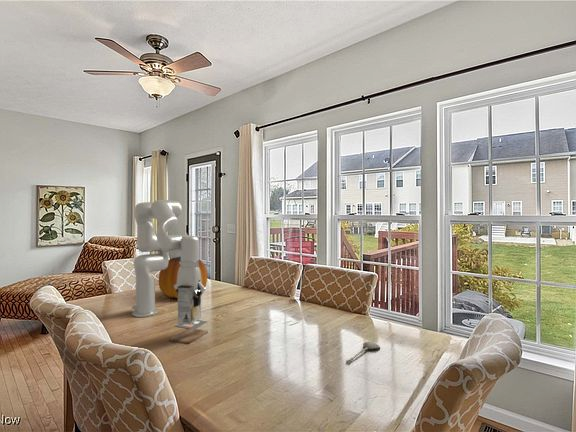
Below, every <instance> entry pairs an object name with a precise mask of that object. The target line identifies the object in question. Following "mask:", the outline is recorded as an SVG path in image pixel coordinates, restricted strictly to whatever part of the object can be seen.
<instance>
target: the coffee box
mask: <svg viewBox="0 0 576 432" xmlns="http://www.w3.org/2000/svg"><path fill="white" fill-rule="evenodd" d="M200 290H201V289H200ZM196 292H197V291H196ZM197 294H198V293H197ZM201 297H202V295H201V296H200V305H199V306H197V307H194V298H195V295H194V292H192V287H191V286H182V285H180V286H178V298H177V325H178V324H189V325H191V324H192V323H194V322H195V321H197V320H200V319H201V318H202V298H201Z"/></svg>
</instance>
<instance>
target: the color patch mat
mask: <svg viewBox="0 0 576 432" xmlns="http://www.w3.org/2000/svg"><path fill="white" fill-rule="evenodd" d="M207 323H208V321H206V320H200V319H198V320H197V321H195V322H194V323H192V324H191V325H189V324H178V323H177V324H176V325H175V327H177V328H183V329H189V328H192V329H198V328H199V327H201V326H202V325H205V324H207Z"/></svg>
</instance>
